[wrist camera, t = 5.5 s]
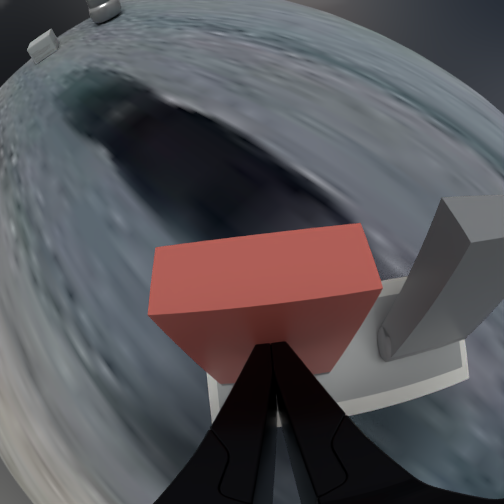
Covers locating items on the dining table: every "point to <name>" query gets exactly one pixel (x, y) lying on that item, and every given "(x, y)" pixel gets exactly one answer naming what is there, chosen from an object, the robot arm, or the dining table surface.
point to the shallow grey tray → (377, 368)
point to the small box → (43, 46)
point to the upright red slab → (265, 296)
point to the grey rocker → (449, 279)
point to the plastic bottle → (103, 9)
